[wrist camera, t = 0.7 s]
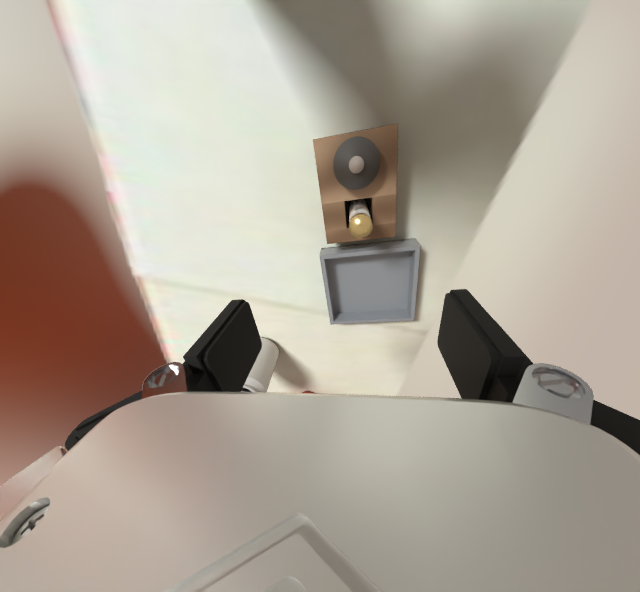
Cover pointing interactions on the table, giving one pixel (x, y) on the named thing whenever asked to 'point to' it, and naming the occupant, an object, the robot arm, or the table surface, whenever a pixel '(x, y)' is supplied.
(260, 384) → the can
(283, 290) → the table surface
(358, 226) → the lock pin
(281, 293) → the table surface
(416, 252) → the tray
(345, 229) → the block
